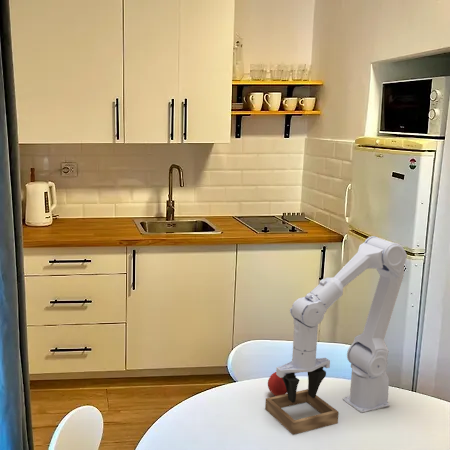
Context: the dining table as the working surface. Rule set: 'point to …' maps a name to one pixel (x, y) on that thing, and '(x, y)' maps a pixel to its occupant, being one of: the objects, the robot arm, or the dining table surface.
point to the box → (304, 424)
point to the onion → (276, 385)
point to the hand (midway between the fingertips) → (301, 398)
